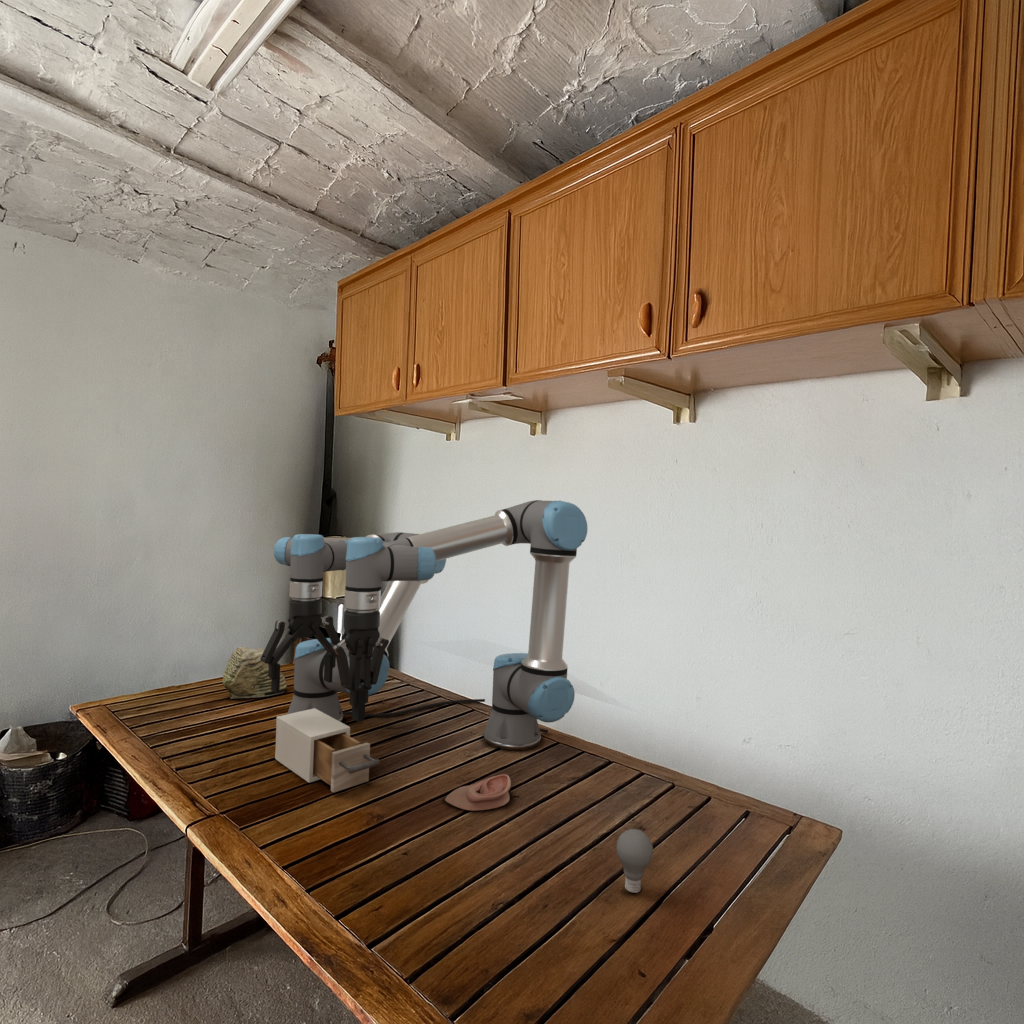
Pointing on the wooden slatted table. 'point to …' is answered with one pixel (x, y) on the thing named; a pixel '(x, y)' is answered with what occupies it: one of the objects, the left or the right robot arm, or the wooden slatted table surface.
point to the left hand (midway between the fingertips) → (302, 686)
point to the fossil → (249, 675)
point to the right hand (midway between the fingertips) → (358, 719)
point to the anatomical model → (482, 794)
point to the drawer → (342, 761)
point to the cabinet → (303, 739)
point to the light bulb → (634, 857)
